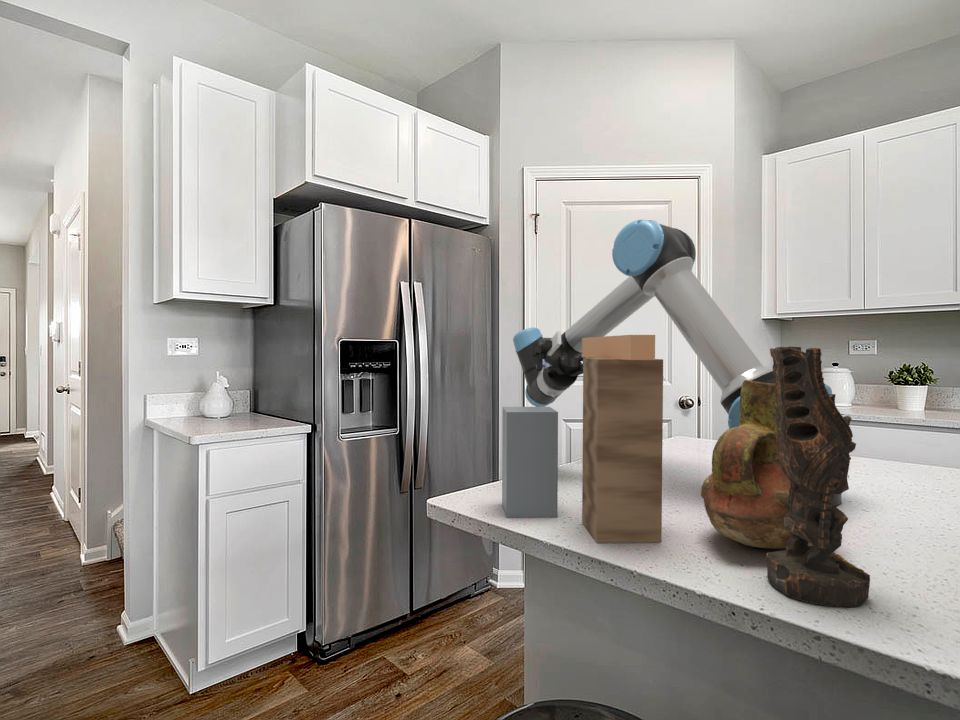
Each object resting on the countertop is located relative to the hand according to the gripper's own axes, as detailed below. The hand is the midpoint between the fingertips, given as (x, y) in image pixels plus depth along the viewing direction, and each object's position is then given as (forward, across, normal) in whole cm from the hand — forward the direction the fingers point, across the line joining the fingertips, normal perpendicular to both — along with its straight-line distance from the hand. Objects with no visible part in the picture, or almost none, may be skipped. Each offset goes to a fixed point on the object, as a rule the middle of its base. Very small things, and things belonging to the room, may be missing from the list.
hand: (591, 341), depth 114 cm
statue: (+32, -14, -45) cm, 57 cm away
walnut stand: (+9, 0, -37) cm, 38 cm away
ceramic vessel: (+17, -20, -38) cm, 47 cm away
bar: (+17, +3, -10) cm, 20 cm away
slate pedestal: (-5, +12, -33) cm, 35 cm away
